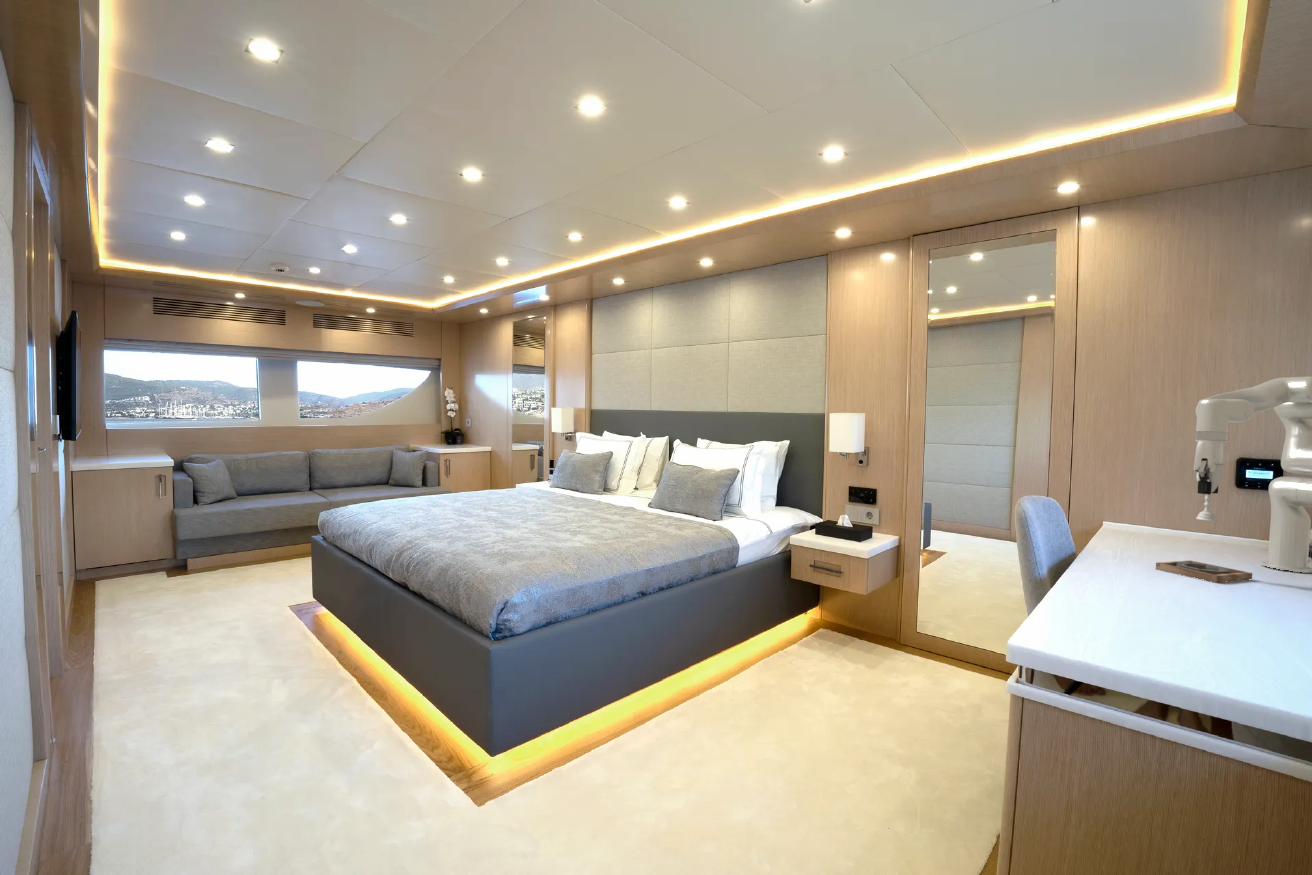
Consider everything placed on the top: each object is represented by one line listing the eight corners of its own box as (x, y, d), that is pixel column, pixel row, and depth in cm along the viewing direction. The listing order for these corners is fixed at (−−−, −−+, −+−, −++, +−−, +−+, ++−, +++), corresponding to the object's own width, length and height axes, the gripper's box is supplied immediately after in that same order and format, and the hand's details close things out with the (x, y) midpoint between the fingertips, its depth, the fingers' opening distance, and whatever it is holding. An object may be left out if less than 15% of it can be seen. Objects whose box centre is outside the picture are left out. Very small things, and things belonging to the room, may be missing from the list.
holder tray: (1189, 566, 208) (1190, 559, 208) (1251, 579, 192) (1252, 572, 192) (1155, 569, 202) (1156, 561, 202) (1216, 583, 186) (1216, 574, 186)
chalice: (1227, 521, 193) (1230, 464, 192) (1205, 520, 193) (1209, 464, 192) (1206, 517, 200) (1210, 463, 199) (1185, 517, 200) (1189, 462, 200)
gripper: (1205, 437, 203) (1201, 490, 204) (1186, 436, 194) (1183, 493, 195) (1235, 438, 197) (1231, 493, 198) (1217, 437, 188) (1214, 496, 188)
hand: (1207, 492), depth 196 cm, fingers closed on chalice, 6 cm apart
